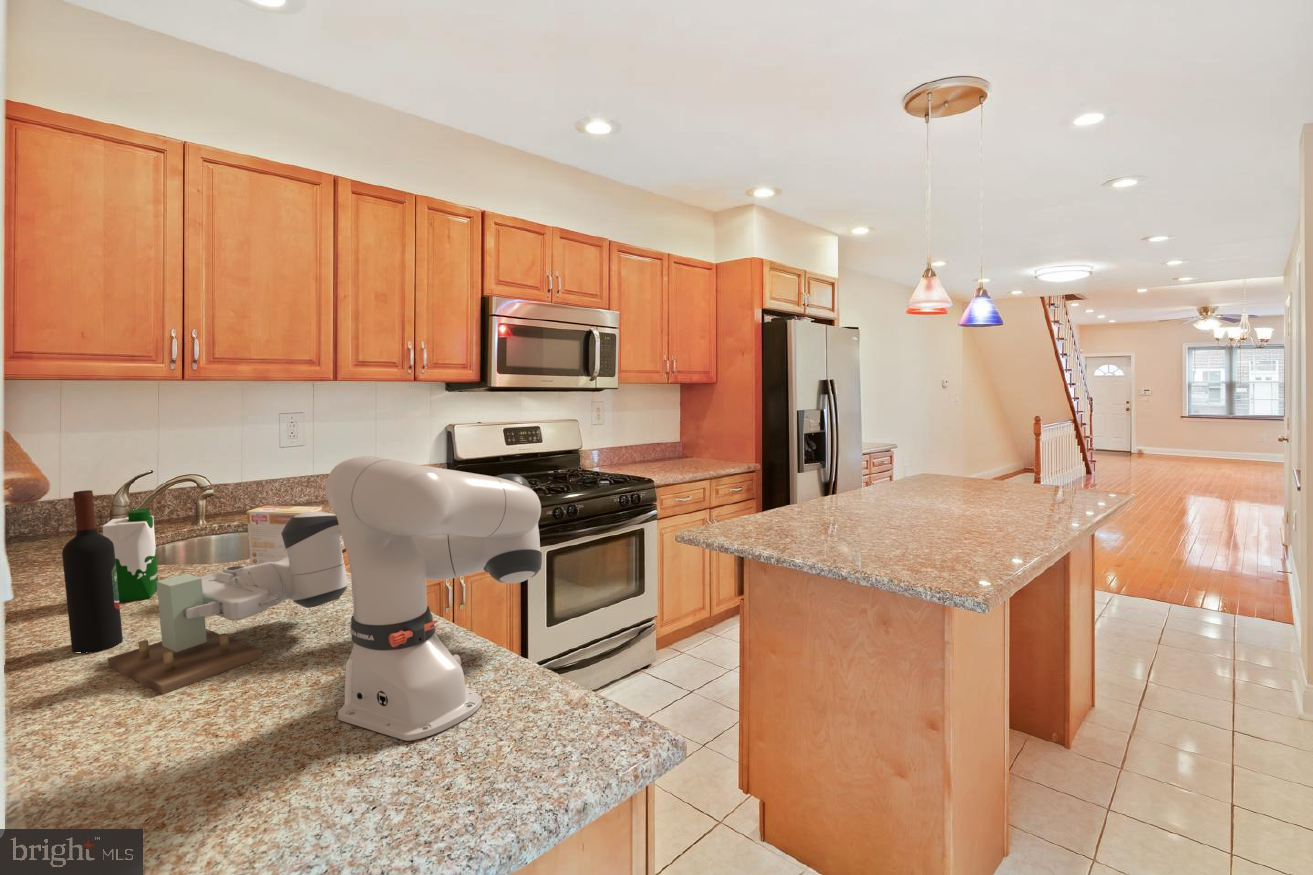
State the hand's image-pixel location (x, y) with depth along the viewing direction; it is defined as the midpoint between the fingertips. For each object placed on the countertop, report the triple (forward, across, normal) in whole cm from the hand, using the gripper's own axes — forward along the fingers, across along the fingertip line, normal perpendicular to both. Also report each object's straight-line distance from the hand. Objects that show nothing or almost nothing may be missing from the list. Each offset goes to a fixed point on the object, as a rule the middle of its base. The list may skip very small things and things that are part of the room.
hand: (176, 610), depth 121 cm
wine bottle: (+4, +22, -10) cm, 25 cm away
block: (-1, 0, -7) cm, 7 cm away
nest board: (-1, 0, -10) cm, 10 cm away
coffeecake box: (-34, +23, -10) cm, 42 cm away
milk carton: (-12, +48, -10) cm, 51 cm away
